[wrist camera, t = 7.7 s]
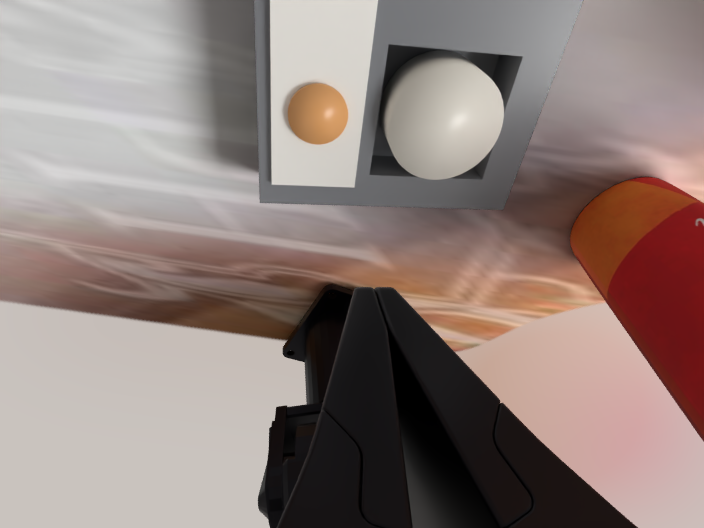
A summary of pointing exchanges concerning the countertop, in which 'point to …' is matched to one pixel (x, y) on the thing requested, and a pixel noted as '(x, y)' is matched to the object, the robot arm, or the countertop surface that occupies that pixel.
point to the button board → (370, 82)
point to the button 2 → (440, 115)
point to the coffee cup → (652, 277)
